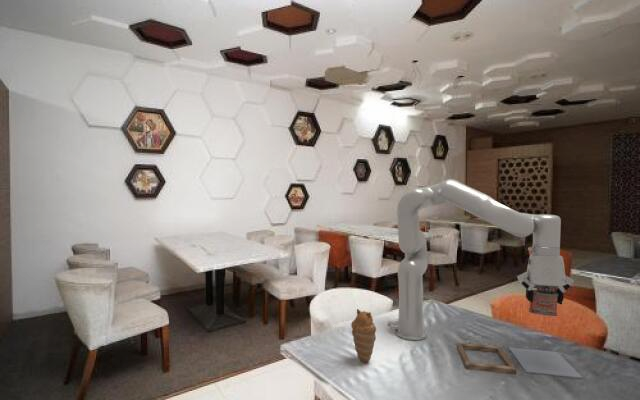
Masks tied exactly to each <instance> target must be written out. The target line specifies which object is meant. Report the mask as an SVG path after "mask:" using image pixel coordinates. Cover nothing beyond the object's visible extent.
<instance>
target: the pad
mask: <svg viewBox="0 0 640 400" xmlns="http://www.w3.org/2000/svg"><path fill="white" fill-rule="evenodd" d="M508 350H509V351H510V353H511V355H513V356H514V358H515V359H516V361H517V363H518V364H519V365H520V366H521V368H522V370H523V371H524V372H525V373H526V374H534V375H542V376H543V375H544V376H552V377H562V378H572V379H580V380H581V379H583V380H584V377H583V376H582V375H581V374H580V373H579V372H578V371H577V370H576V369H575V368H574V367H573V366H572V365H571V364H570V363H569V362H568V361H567V360H566V359H565V358H564V357H563V356H562V355H561V354H560V353H559V352H558V351H550V350H539V349H529V348H520V347H519V348H518V347H517V348H516V347H508Z"/></svg>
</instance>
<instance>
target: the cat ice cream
mask: <svg viewBox="0 0 640 400" xmlns="http://www.w3.org/2000/svg"><path fill="white" fill-rule="evenodd" d="M350 326H351V334H352V336H353V337H352V338H353V340H352V341H353V343H354V349H355V352H356V355H357V358H358V359H359V361H361V362H363V363H367V362H370V360H371V359H372V355H373V353H374V351H373V350H374V346H375V341H376V339H377V336H376V332H377V327H376V325H375V323H374V318H373V316H372V314H371V312H368V311H364V310H363V311H361V310H360V309H358V308H356V317H355V319H353V320H352V322H351V325H350Z"/></svg>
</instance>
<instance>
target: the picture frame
mask: <svg viewBox="0 0 640 400" xmlns="http://www.w3.org/2000/svg"><path fill="white" fill-rule="evenodd" d="M456 347H457V349H458V352H459V355H460V356H461V359H462V361H463V364H464V367H465V369H466V370H476V371H483V372H495V373H501V374H502V373H503V374H509V375H511V374H513V375H517V368H516V367H515V366H514V364H513V363H512V361H511V359H510V358H509V357H508V356H507V354H506V352H505V351H504V349H502V347H501V346H496V345H483V344H475V343H465V342H464V343H463V342H456ZM466 350H469V351H479V352H490V353H497V354H498V355H499V357H500V359H501V360H502V362H503V363H504V365H498V364H497V365H496V364H487V363H479V362H471V361H470V359H469V356H468V354H467V352H466Z"/></svg>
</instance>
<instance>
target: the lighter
mask: <svg viewBox="0 0 640 400" xmlns="http://www.w3.org/2000/svg"><path fill="white" fill-rule="evenodd" d="M532 291H533V302H530V301H529V308H528V311H529V312H530V313H531V314H535V315H541V316H547V317H557V316H558V311H557V309H558V303H557V300H558V296H559V294H558V293H555V291H556V286H540V285H535V286H534V287H533V289H532Z"/></svg>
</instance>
